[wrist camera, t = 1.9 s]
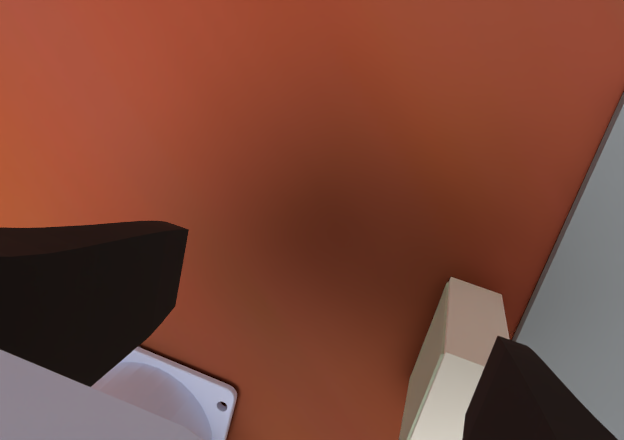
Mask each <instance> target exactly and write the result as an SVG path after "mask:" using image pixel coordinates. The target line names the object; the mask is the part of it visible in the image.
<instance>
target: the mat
mask: <svg viewBox="0 0 624 440" xmlns="http://www.w3.org/2000/svg"><path fill="white" fill-rule="evenodd" d="M512 341H515V342H518V343H521V344H524V345H527V346H528V347H530V348H531V349H532V350H533V351H534V352H535V353H536V354H537V355H538V356H539V357H540V358H541V359H542V360H543V361H544V362H545V363H546V365H547V366H548V367H549V368H550V369H551V370H552V371H553V372H554V373H555V375H556V376H557V377H558V378H559V379H560V380H561V381H562V382H563V383H564V385H565V386H566V387H567V388H568V389H569V390H570V391H571V392H572V393H573V394H574V396H575V397H576V398H577V399H578V400H579V401H580V402H581V403H582V404H583V405H584V406H585V407H586V408H587V409H588V410H589V411H590V412H591V413H592V414H593V416H594V417H595V418H596V419H597V420H599V421H600V422H601V423H602V424H603V425H604V426H605V427H606V428H607V429H608V430H609V431H610V432H611V433H612V434H613V435H614V436H615V437H616V438H617V439H618V440H624V92H623V94H622V97H621V99H620V101H619V103H618V105H617V108H616V110H615V112H614V114H613V117H612V119H611V121H610V123H609V125H608V128H607V130H606V132H605V134H604V137H603V139H602V141H601V143H600V145H599V148H598V150H597V152H596V154H595V157H594V159H593V161H592V163H591V165H590V168H589V170H588V172H587V174H586V177H585V179H584V181H583V183H582V185H581V188H580V190H579V192H578V194H577V197H576V199H575V201H574V203H573V205H572V208H571V210H570V212H569V214H568V216H567V219H566V221H565V223H564V225H563V228H562V230H561V232H560V234H559V236H558V239H557V241H556V243H555V245H554V248H553V250H552V252H551V254H550V256H549V259H548V261H547V263H546V265H545V268H544V270H543V272H542V274H541V276H540V279H539V281H538V283H537V285H536V288H535V290H534V292H533V294H532V296H531V299H530V301H529V303H528V305H527V308H526V310H525V312H524V314H523V316H522V319H521V321H520V323H519V325H518V328H517V330H516V332H515V334H514V336H513V339H512Z"/></svg>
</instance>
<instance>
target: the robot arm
mask: <svg viewBox="0 0 624 440" xmlns="http://www.w3.org/2000/svg"><path fill="white" fill-rule="evenodd" d="M187 236H188V229H185V228H182V227H180V226H177V225H174V224H171V223H168V222H163V221H135V222H121V223H109V224H96V225H83V226H64V227H46V228H0V440H226V438H227V435H228V431H229V427H230V423H231V419H232V415H233V411H234V407H235V404H236V400H237V392H236V390H235V389H234V388H233V387H232V386H231V385H229V384H226V383H224V382H222V381H219V380H217V379H214V378H212V377H210V376H207V375H205V374H202V373H200V372H198V371H195V370H193V369H190V368H188V367H186V366H183V365H181V364H178V363H176V362H174V361H171V360H169V359H166V358H164V357H162V356H159V355H157V354H154V353H152V352H150V351H147V350H145V349H142V348H140V347H138V346H139V345H140V344H141V343H142V342H144V341H145V340H146V339H147V338H148V337H149V336H150V335H151V334H152V333H153V332H154V331H155V330H156V328H157V327H158V326H159V325H160V324H161V323H162V322H163V320H164V319H165V318H166V317H167V315H168V314H169V313H170V312H171V311H172V309H173V308H174V307H175V304H176V298H177V293H178V287H179V281H180V276H181V270H182V264H183V259H184V253H185V247H186V242H187ZM221 402H224V403H226V405H227V406H224V405H222V403H221ZM462 440H618V439H617V438H616V437H615V436H614V435H613V434H612V433H611V432H610V431H609V430H608V429H607V428H606V427H605V426H604V425H603V424H602V423H601V422H600V421H599V420H597V419H596V418H595V417H594V416H593V414H592V413H591V412H590V411H589V410H588V409H587V408H586V407H585V406H584V405H583V404H582V403H581V402H580V401H579V400H578V399H577V398H576V397H575V396H574V394H573V393H572V392H571V391H570V390H569V389H568V388H567V387H566V386H565V385H564V383H563V382H562V381H561V380H560V379H559V378H558V377H557V376H556V375H555V373H554V372H553V371H552V370H551V369H550V368H549V367H548V366H547V365H546V363H545V362H544V361H543V360H542V359H541V358H540V357H539V356H538V355H537V354H536V353H535V352H534V351H533V350H532V349H531V348H530V347H528V346H527V345H524V344H521V343H518V342H515V341H512V340H509V339H506V338H503V337H500V336H497V338H496V341H495V343H494V345H493V348H492V350H491V353H490V355H489V358H488V360H487V363H486V365H485V367H484V370H483V372H482V375H481V377H480V380H479V382H478V385H477V387H476V389H475V392H474V394H473V397H472V399H471V402H470V404H469V407H468V409H467V411H466V414H465V421H464V430H463V439H462Z"/></svg>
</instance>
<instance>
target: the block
mask: <svg viewBox="0 0 624 440" xmlns="http://www.w3.org/2000/svg"><path fill="white" fill-rule="evenodd" d="M497 336H500V337H503V338H506V339H509V334H508V328H507V322H506V316H505V311H504V305H503V299H502V294H499V293H496V292H493V291H491V290H488V289H485V288H482V287H479V286H476V285H473V284H470V283H468V282H465V281H462V280H459V279H456V278H453V277H450V280H449V282H447V283H446V286H445V288H444V291H443V293H442V296H441V299H440V301H439V304H438V306H437V309H436V312H435V314H434V317H433V319H432V322H431V324H430V327H429V330H428V332H427V335H426V337H425V340H424V343H423V345H422V348H421V350H420V353H419V356H418V358H417V361H416V363H415V366H414V369H413V371H412V374H411V376H410V379H409V385H408V391H407V396H406V402H405V408H404V413H403V419H402V425H401V430H400V436H399V440H462V439H463V430H464V421H465V414H466V411H467V409H468V407H469V404H470V402H471V399H472V397H473V394H474V392H475V389H476V387H477V385H478V382H479V380H480V377H481V375H482V372H483V370H484V367H485V365H486V363H487V360H488V358H489V355H490V353H491V350H492V348H493V345H494V343H495V341H496V338H497Z"/></svg>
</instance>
